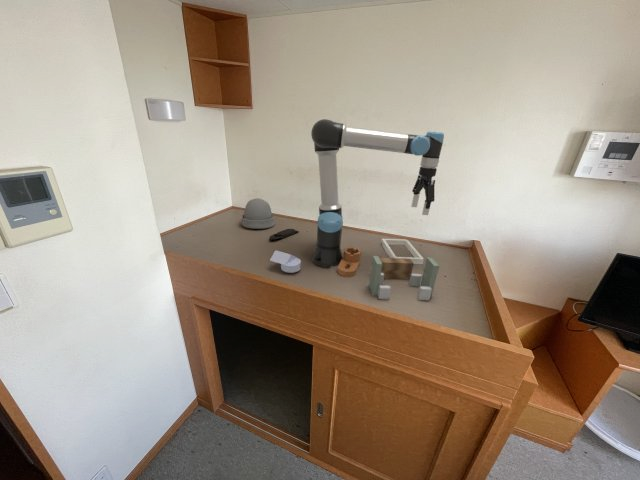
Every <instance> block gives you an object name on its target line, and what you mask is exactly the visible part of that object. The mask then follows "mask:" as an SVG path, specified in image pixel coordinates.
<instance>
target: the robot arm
mask: <svg viewBox="0 0 640 480" xmlns="http://www.w3.org/2000/svg"><path fill="white" fill-rule="evenodd" d="M310 134H311V136H310V137H311V139H312V142H313V144H314V153H315V154H316V155H317V158H318V171H319V173H318V174H319V184H320V185H319V187H320V198H321V200H320V202H321V204H320V205H319V206H318V214H319V215H318V218H317V221H316V222H317V230H316V231H317V233H316V246H315V248H314V251H313V253H312V259H311V260H312V263H313V264H314V265H316V266H319V267H322V268H333V267H336V266H337V267H338V265H339V263H340V262H341V260H342V258H343V253H342V248H341V245H342V232H343V224H344V221H343V219H344V218H343V215H342V214H343V212H342V211H343V210H342V205H341V204H340V202H339V190H338V189H339V186H338V169H337V168H338V161H337V153H338V152H339V151H340V149H342V148H344V147H350V148H358V149H366V150H374V151H382V152H390V153H399V154H400V153H401V154H405V155H414V156H421V160H420V167H419V171H418V175H417V178H416V182H415V184H414V186H413V187H412V191H411V192H412V193H413V197H412V202H411V208H418V205H419V199H420V194H421V191H422V190H423V189H424V194H425V200H424V203H423V209H422V212H421V213H422V214H421V215H422V216H428V215H429V213H430V208H431V205H432V202H433V203H434V202H435V184H436V179H433V178H434V177H436V174H437V172H438V171H437V168H438V165H439V162H440V155H441V151H442V148H443V144H444V138H445V133H444V132H442V131H429V130H428V131H427V132H426V134H425V135H419V134H418V135H417V134H408V133H401V132H392V131H383V130H375V129H367V128H359V127H358V128H357V127H351V126H347V125H346V124H345V123H340V122H336V121H333V120H331V119H328V118H327V119H325V118H324V119H319V120H317V121H316V122H315V123H314V124H313V126H312V129H311V133H310Z"/></svg>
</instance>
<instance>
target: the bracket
mask: <svg viewBox="0 0 640 480" xmlns="http://www.w3.org/2000/svg"><path fill="white" fill-rule="evenodd" d="M361 255H362V250H361V249H360V248H358V247H357V248H355V247H354V246H348V247H345V248H343V253H342V256H343V258H342V260H341V262H340V263H339V265H337V274H338V275H340V276H341V277H345V278H350V277H354V276H355V275H356V273H357V272H358V270H359V267H360V264H361V258H362V257H361Z"/></svg>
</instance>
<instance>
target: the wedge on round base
mask: <svg viewBox="0 0 640 480" xmlns="http://www.w3.org/2000/svg"><path fill="white" fill-rule="evenodd" d="M269 261H270V262H274V263H276V264H280V268H281V271H283V272H284V273H292V274H293V273H297V272H299V271H300V270H301V267H302V266H301V265H302V260H301V259H300V258H298V257H296V256H294V255H293V254H290V253H286V252H283V251H280V250H274V252H273V254H272V256H271V257H270V259H269Z"/></svg>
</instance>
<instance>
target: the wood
mask: <svg viewBox="0 0 640 480" xmlns="http://www.w3.org/2000/svg"><path fill="white" fill-rule="evenodd" d="M299 232H300V231H299V230H297V229H294V228H287V229H283V230H280V231H279V232H277V233H273V234H271V235H270V236H269V240H270V241H273V240H277V239H285V238H286V237H289V236H292V235H295V234H298V233H299Z"/></svg>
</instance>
